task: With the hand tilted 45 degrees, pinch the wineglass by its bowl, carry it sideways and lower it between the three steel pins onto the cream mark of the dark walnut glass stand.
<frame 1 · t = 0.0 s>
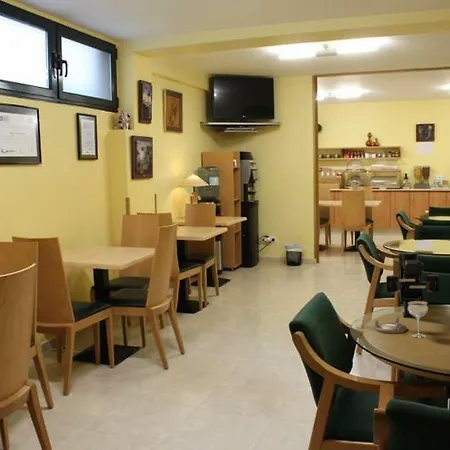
hand: (413, 288, 204), 17 cm above the table, fingers open, 9 cm apart
glass stand: (390, 329, 211), on the table
wineglass: (418, 336, 201), on the table
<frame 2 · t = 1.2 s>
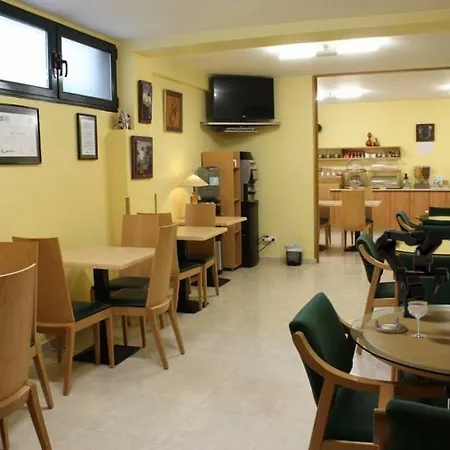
hand: (420, 293, 207), 14 cm above the table, fingers open, 9 cm apart
nothing on the table moved.
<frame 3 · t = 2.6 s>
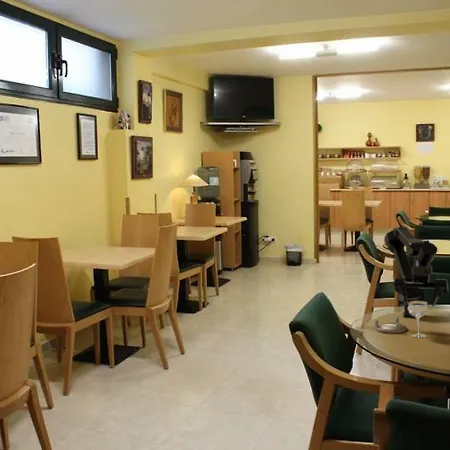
hand: (419, 305, 203), 10 cm above the table, fingers open, 9 cm apart
nothing on the table moved.
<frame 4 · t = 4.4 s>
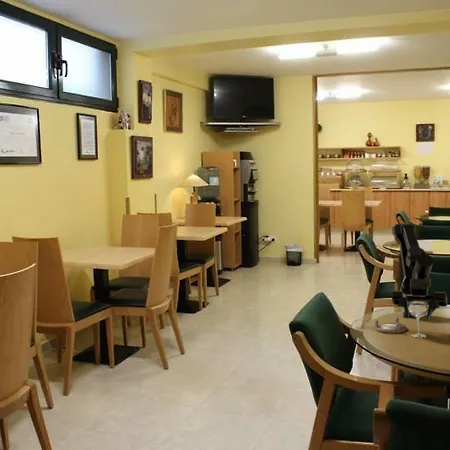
hand: (417, 318, 199), 7 cm above the table, fingers closed on wineglass, 6 cm apart
wineglass: (418, 336, 201), on the table, touching gripper
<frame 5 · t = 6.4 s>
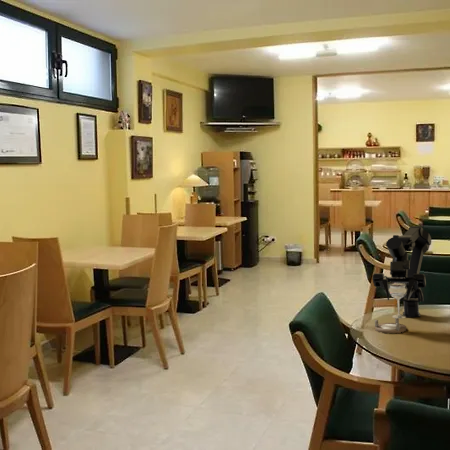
hand: (397, 299, 206), 12 cm above the table, fingers closed on wineglass, 6 cm apart
wineglass: (399, 317, 208), point 5 cm above the table, touching gripper
when the fingers open (9 cm above the table, at t = 8.4 s): wineglass drops 1 cm, resting on glass stand.
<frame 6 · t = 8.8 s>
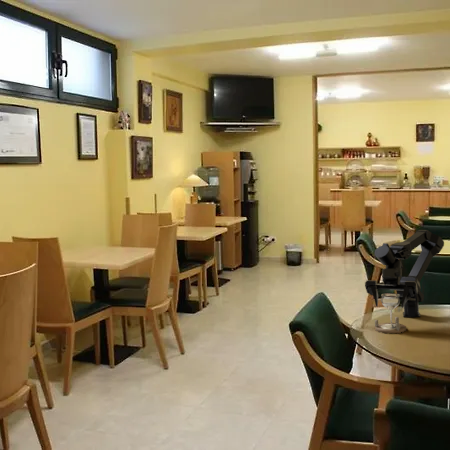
hand: (389, 306, 209), 9 cm above the table, fingers open, 9 cm apart
wineglass: (391, 327, 211), point 1 cm above the table, touching glass stand
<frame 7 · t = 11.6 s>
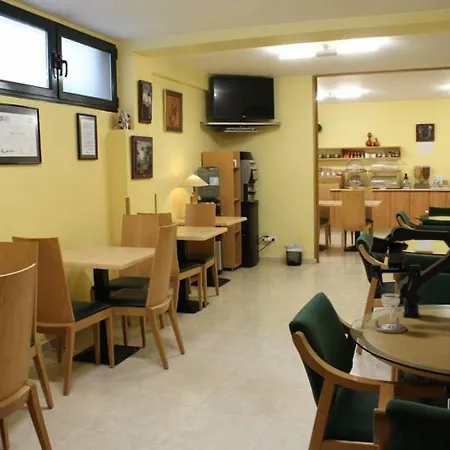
hand: (395, 290, 217), 13 cm above the table, fingers open, 9 cm apart
nothing on the table moved.
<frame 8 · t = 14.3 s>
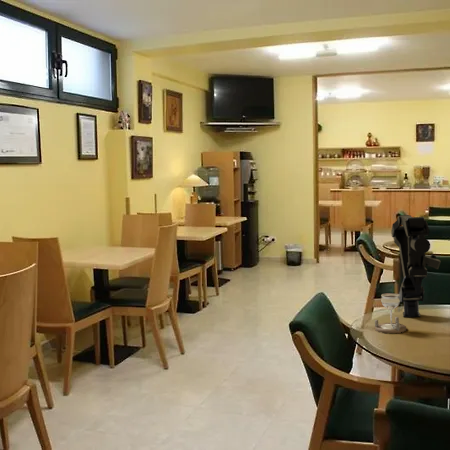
hand: (417, 290, 216), 13 cm above the table, fingers open, 9 cm apart
nothing on the table moved.
at the end: wineglass 0.4 cm off-centre on the glass stand, point 0.9 cm above the glass stand's base; wineglass tilted 0°; the gripper is holding nothing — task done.
